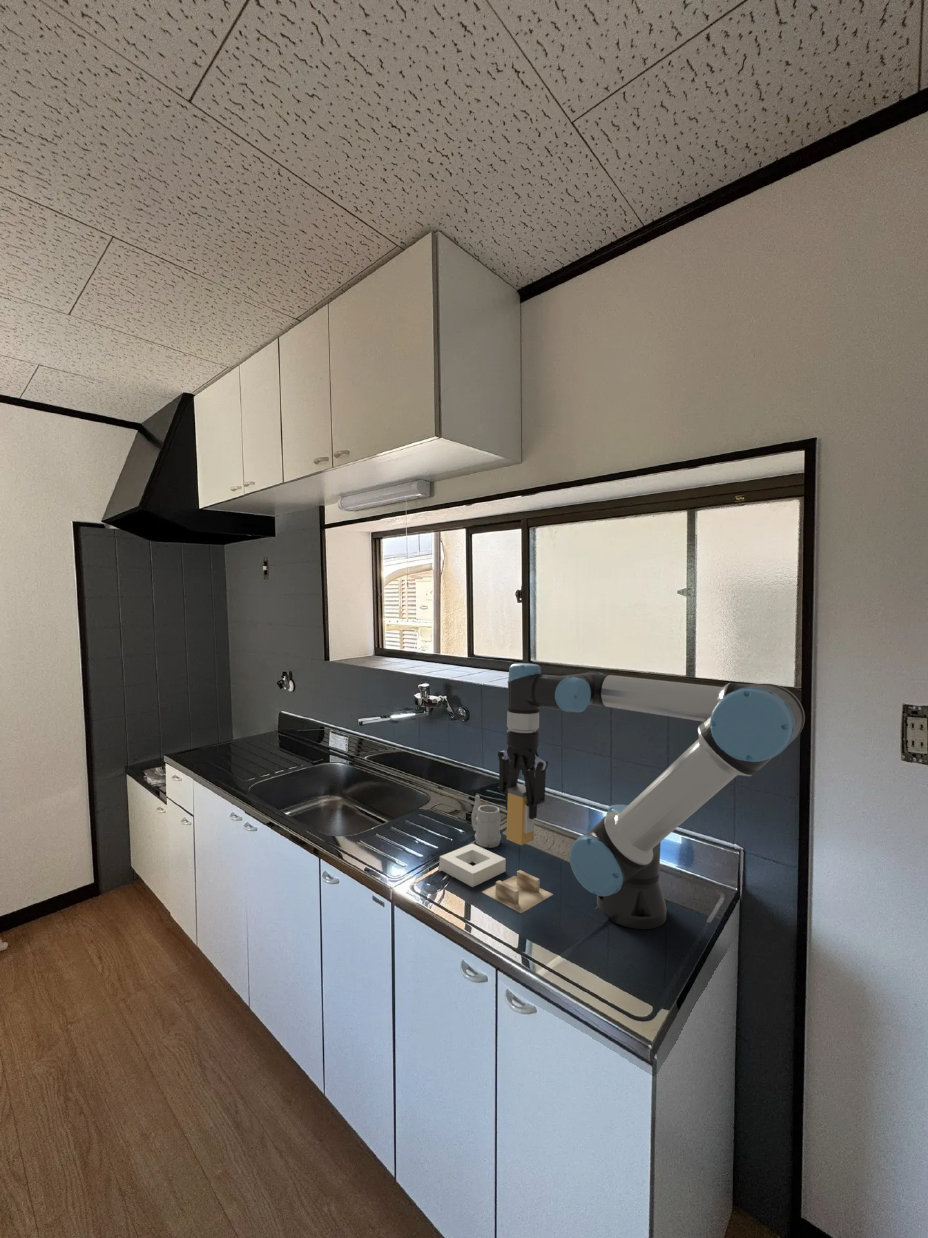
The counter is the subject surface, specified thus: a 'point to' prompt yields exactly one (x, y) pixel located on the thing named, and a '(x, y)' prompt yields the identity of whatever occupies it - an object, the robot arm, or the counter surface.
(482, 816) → the mug
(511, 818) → the plug
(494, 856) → the port
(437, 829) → the counter surface
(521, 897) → the beige plate with rail
